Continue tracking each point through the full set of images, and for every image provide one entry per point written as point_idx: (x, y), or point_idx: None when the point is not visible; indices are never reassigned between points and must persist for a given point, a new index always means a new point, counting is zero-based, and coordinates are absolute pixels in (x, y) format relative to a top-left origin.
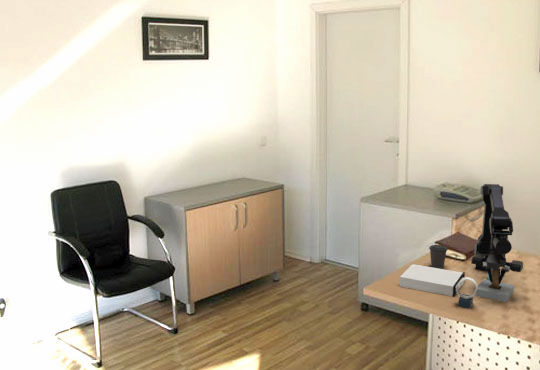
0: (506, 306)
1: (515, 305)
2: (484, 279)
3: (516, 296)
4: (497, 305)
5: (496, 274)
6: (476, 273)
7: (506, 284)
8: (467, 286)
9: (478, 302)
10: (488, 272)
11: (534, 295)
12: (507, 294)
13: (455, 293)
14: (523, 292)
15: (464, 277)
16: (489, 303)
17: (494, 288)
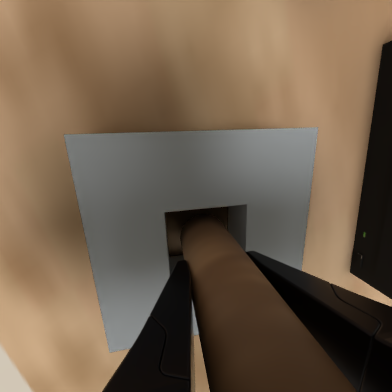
0: (62, 55)
1: (17, 114)
2: None
3: (82, 264)
4: (123, 39)
5: (249, 323)
6: None
7: None
8: (333, 235)
9: (246, 26)
10: (372, 308)
11: (2, 338)
12: (69, 146)
13: (390, 74)
14: (74, 336)
15: (377, 288)
16: (181, 49)
17: (205, 221)
